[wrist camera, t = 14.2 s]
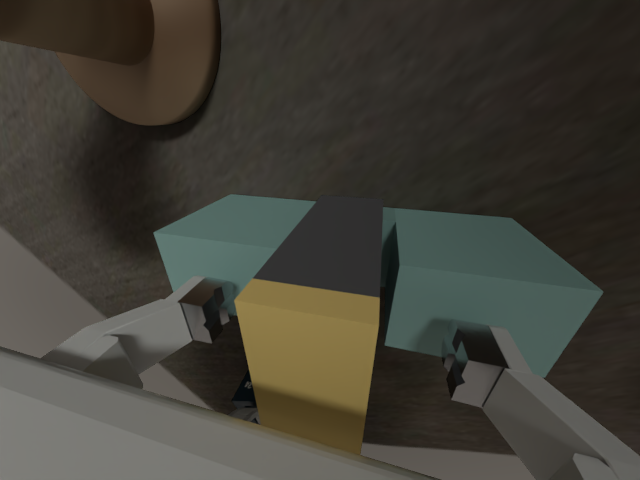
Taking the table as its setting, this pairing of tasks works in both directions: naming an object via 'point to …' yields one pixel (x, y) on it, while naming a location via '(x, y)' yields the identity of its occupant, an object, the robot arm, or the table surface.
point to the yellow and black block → (317, 323)
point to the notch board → (408, 271)
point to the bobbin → (127, 50)
